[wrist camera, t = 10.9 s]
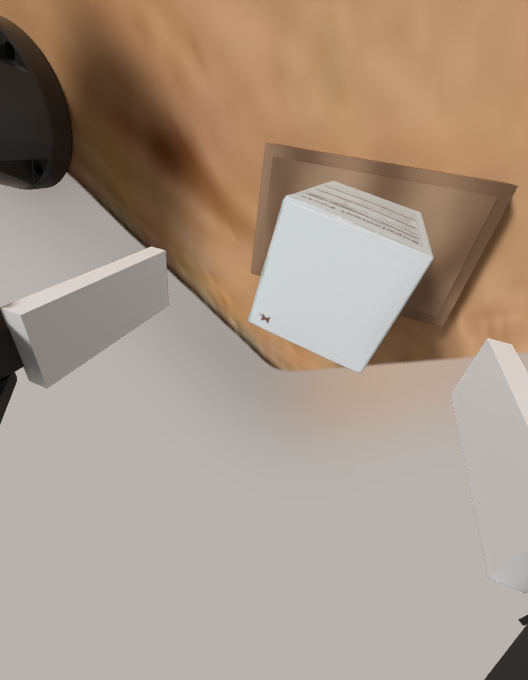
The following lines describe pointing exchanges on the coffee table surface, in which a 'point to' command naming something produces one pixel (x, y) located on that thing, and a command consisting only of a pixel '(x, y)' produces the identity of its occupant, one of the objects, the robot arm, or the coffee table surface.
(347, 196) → the supplement box
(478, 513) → the robot arm
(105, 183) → the coffee table surface
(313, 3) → the coffee table surface
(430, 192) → the walnut board
